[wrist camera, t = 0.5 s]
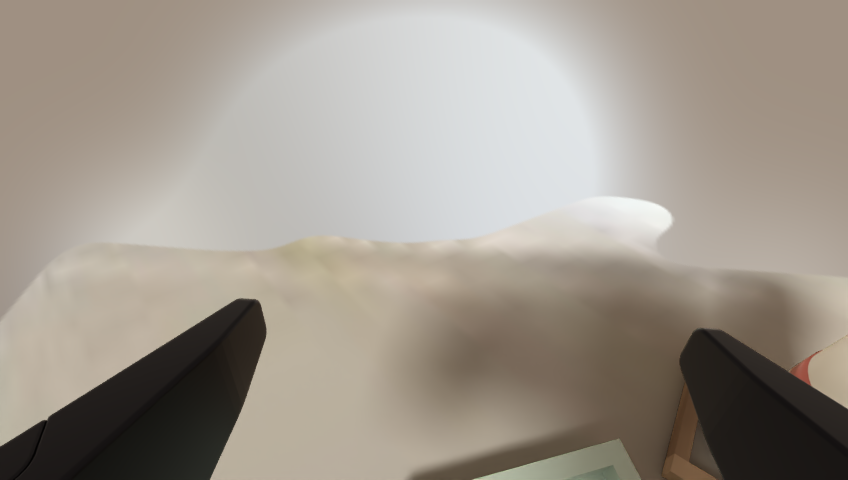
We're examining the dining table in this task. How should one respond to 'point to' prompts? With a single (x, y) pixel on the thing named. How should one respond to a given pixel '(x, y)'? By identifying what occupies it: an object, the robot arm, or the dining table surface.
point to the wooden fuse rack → (683, 444)
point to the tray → (577, 466)
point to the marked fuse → (827, 371)
